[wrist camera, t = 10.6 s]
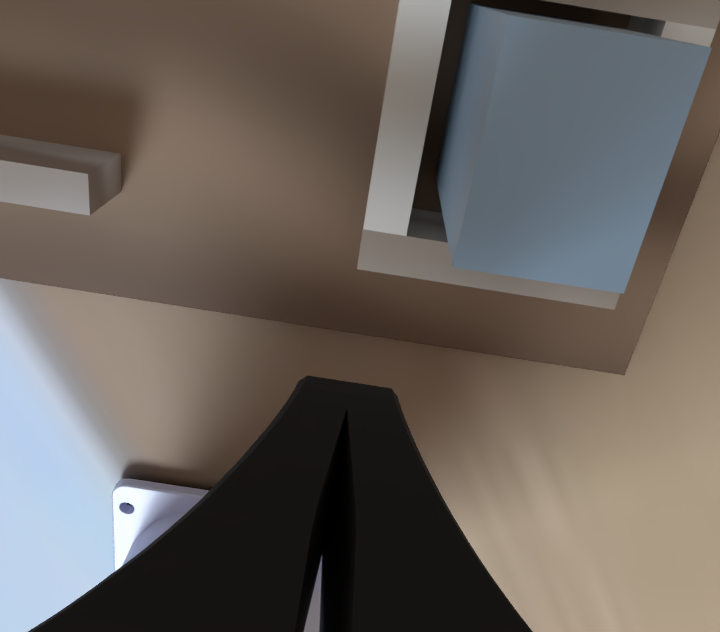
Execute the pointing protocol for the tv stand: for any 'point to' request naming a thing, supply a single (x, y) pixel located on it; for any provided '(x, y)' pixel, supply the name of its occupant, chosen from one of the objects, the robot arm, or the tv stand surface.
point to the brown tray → (296, 167)
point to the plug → (559, 144)
